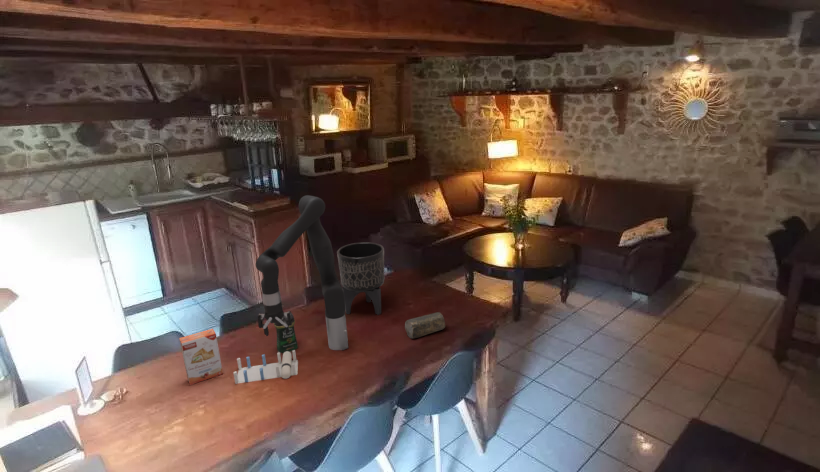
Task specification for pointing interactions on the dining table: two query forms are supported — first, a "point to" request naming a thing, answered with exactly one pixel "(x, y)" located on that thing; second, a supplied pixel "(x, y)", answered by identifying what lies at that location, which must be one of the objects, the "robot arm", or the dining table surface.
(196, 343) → the cracker box
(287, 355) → the banded cream tube
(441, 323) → the stone block
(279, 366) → the white pegged rack
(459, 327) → the dining table surface
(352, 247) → the planter
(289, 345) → the coffee jar
